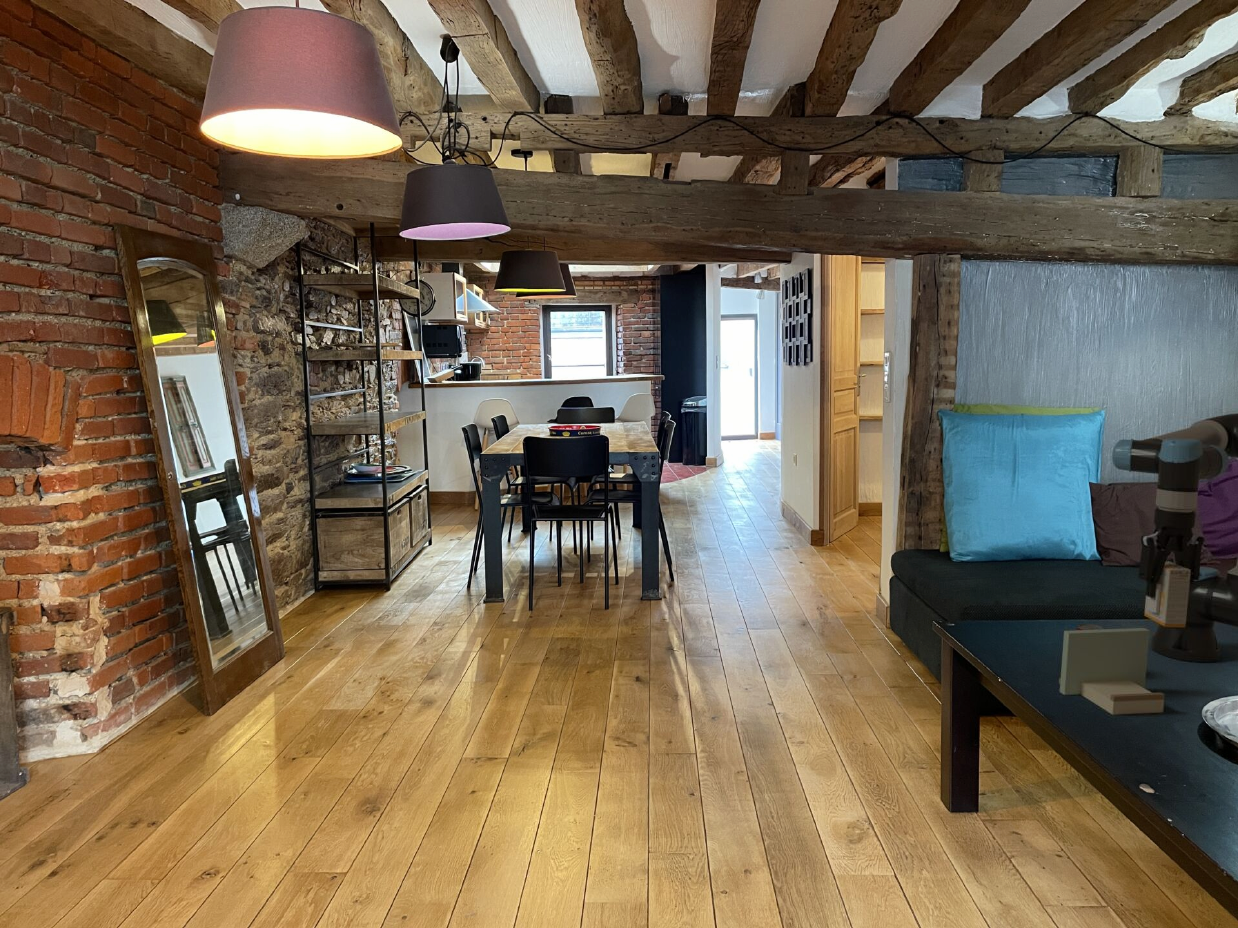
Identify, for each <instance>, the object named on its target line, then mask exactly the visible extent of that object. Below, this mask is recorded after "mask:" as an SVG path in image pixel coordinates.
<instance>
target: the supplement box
mask: <svg viewBox="0 0 1238 928" xmlns="http://www.w3.org/2000/svg"><path fill="white" fill-rule="evenodd" d="M1190 573H1191V570H1190V569H1187V568H1185V567H1182V566H1180V565H1177V564H1176V562H1172V561H1169V560H1166V562H1165V565H1164V567H1163V571H1162V573H1161V576H1160V579H1159V582H1158V583H1159V584H1161V585H1162V586H1161V596H1160V606H1159V613H1154V612H1152V611H1149V610H1147V602H1148V596H1146V595H1145V604H1144V605H1145V606H1144V617H1146V618H1147V619H1150V620H1152V621H1154V622H1156V623H1157V624H1158V625H1159V624H1161V625H1163V626H1165V627H1185V626H1186V615H1187V605H1188V594H1189V583H1190Z"/></svg>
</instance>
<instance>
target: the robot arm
mask: <svg viewBox="0 0 1238 928" xmlns="http://www.w3.org/2000/svg"><path fill="white" fill-rule="evenodd" d="M1230 458H1235V459H1238V413H1229V414H1224V415H1219V416H1218V415H1217V416H1213V417H1209V418H1205V419H1201V420H1198V421H1195V422H1194V423H1192V424H1191V425H1190V426H1189V427H1187V428H1184V429H1179V430H1176V431H1171V432H1169V433H1165V434H1161V435H1158V436H1154V437H1150V438H1145V439H1141V440H1140V439H1139V440H1137V439H1134V438H1131V439H1125V438H1123V439H1120V440H1118V441H1117V442H1116V444H1114V446H1113V448H1112V457H1111V459H1112V464H1113V465H1114V467H1115V468H1116V469H1118V470H1121V471H1128V472H1131V473H1132V472H1136V473H1146V474H1154V475H1157V485H1156V495H1155V497H1156V498H1155V505H1156V508H1155V509H1154V516H1153V523H1154V525H1155V528H1154V530H1153V532H1152V533H1151V534H1150V535H1141V536H1140V542H1141V553H1140V559H1139V560H1140V561H1139V569H1138V576H1137V577H1138V578H1139V580H1143V581H1145V582H1146V589H1145V597H1146V596H1148V602H1147V610H1149V611H1152V612H1154V613H1159V606H1160V596H1161V586H1162V585H1161V584H1159V583H1158V582H1159V579H1160V576H1161V573H1162V571H1163V567H1164V565H1165V562H1166V561H1168V557H1169V556H1171V553H1173V555H1174V561H1175V562H1174V563H1175V564H1177V565H1180V566H1182V567H1185V568H1187V569H1190V570H1191V573H1190V583H1189V594H1188V605H1187V615H1186V626H1185V627H1165V626H1163V625H1161V624H1159V623H1158V625H1157V627H1156V630H1155V632H1154V635H1152V637H1151V641H1150V648H1151V650H1153V651H1155V652H1156V653H1157V654H1160V655H1162V656H1165V657H1168V658H1172V659H1176V660H1180V661H1185V662H1194V663H1211V662H1216V661H1219V658H1220V647H1219V644H1218V640H1217V637H1216V633H1215V632H1216V631H1215V629H1214V627H1215V626H1214V625H1215V622H1216V623H1218V624H1224V625H1228V626H1232V627H1235V628H1238V558H1237V560H1236V566H1234V567H1233V568H1231V569H1230V570H1228V571H1227V573H1226V577H1223V576H1220V575H1221V573H1220V570H1218V568H1217V569H1216V568H1214V567H1210V566H1209V567H1207V566H1201V558H1202V547H1203V544H1204V542H1205V537H1204V536H1200V535H1196V534H1194V532H1193V530H1192V529H1194V528H1195V524H1196V516H1197V515H1196V514H1197V513H1196V511H1195V510H1196V509H1197V506H1198V495H1199V485H1200V481H1201V480H1212V479H1214V478H1217V477H1220V476H1221V475H1223V474H1224V473H1225V472H1226V471H1227V470H1228V468H1229V466H1230Z"/></svg>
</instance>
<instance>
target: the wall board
mask: <svg viewBox="0 0 1238 928" xmlns="http://www.w3.org/2000/svg"><path fill="white" fill-rule="evenodd" d="M1150 631H1151V630H1149V629H1147V628H1145V627H1140V628H1139V627H1138V628H1137V627H1136V628H1133V627H1132V628H1112V629H1111V628H1110V629H1109V628H1107V629H1105V628H1103V630H1077V629H1076V630H1064V631H1063V641H1062V642H1063V645H1062V655H1061V671H1060V678H1058V684H1059V685H1060V686H1059V693H1061V694H1062V695H1064V696H1072V695H1073V696H1074V695H1081V696H1082V697H1084V698H1086V699H1087V700H1089V701H1091V702H1092V703H1094V704H1095V705H1097V706H1099V708H1102V709H1103V710H1104V711H1106V712H1107V713H1109V714H1111V715H1112V716H1113V715H1129V714H1130V715H1133V714H1134V715H1135V714H1152V713H1153V714H1154V713H1155V714H1156V713H1164V706H1165V705H1164V704H1165V697H1166V696H1165V693H1163V692H1151V691H1150V690H1148V689H1146V688H1145V687H1146V679H1147V678H1146V675H1147V666H1148V665H1147V664H1148V653H1149V645H1150V644H1149V641H1150Z"/></svg>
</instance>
